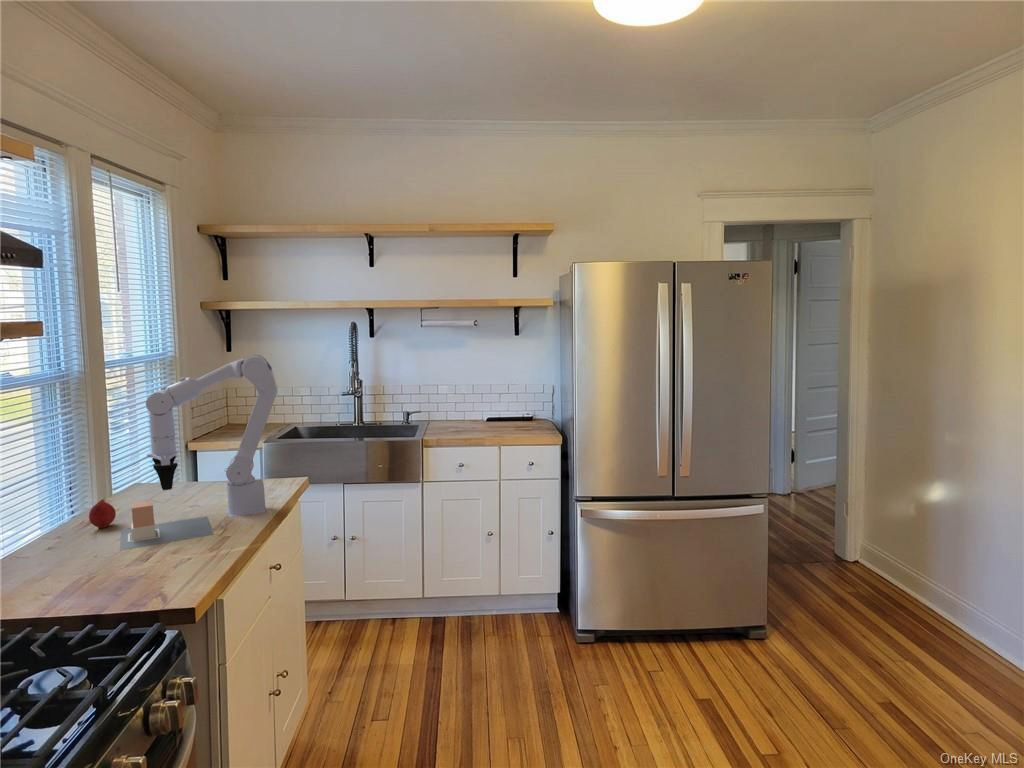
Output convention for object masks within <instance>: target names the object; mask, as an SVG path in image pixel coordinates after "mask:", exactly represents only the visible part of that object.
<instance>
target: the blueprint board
mask: <svg viewBox="0 0 1024 768" xmlns="http://www.w3.org/2000/svg"><path fill="white" fill-rule="evenodd" d="M130 526H131V527H130V528H123V529H121V530H120V542H119V545H120V546H119V551H124V550H130V549H131V550H132V549H137V548H142V547H148V546H149V547H150V546H153V545H160V544H166V543H173V542H179V541H184V540H189V539H194V538H195V539H196V538H202V537H207V536H212V535H214V531H213V529H212V526H211V524H210V521H209V517H208V516H201V517H200V516H199V517H195V518H187V519H182V520H180V519H179V520H174V521H169V522H161V523H156V524H155V521H154V525H151V526H145V527H138V528H133V522H131V525H130Z"/></svg>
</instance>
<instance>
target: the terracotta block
mask: <svg viewBox="0 0 1024 768" xmlns="http://www.w3.org/2000/svg"><path fill="white" fill-rule="evenodd" d="M153 503H154V502H153V500H147V501H139V502H134V503H133V502H132V503H131V515H132V517H131V519H132V523H133V528H138V527H145V526H151V525H154V522H155V519H154V518H155V514H154V504H153Z"/></svg>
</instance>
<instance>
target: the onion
mask: <svg viewBox="0 0 1024 768" xmlns="http://www.w3.org/2000/svg"><path fill="white" fill-rule="evenodd" d="M115 519H116V510H115V508H114V506H112V504H111V503H108V502H106V501H105V498H100V499H99V500H98V502H97V503H95V504H94V505H93V506H92V507H91V508H90V511H89V513H88V520H89V522H90V524H91V525H93V526H95V527H96V528H99V529H103V528H107V527H109V525H111V524H112V523H113V522H114V520H115Z"/></svg>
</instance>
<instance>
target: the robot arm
mask: <svg viewBox="0 0 1024 768" xmlns="http://www.w3.org/2000/svg"><path fill="white" fill-rule="evenodd" d="M243 377H244V378H245V379H247V380H248V381H249V382H250V383H251V384H252V385H253V387H254V388H255V390H256V391H257V393H258V394H257V397H256V400H255V403H254V406H253V408H252V411H251V413H250V416H249V419H248V422H247V425H246V427H245V430H244V432H243V436H242V438H241V440H240V443H239V446H238V449H237V452H236V454H235V455H234V456H233V458H231V459H230V462H229V465H228V466H227V468H226V471H225V477H226V478H227V480H226V490H227V493H226V494H227V504H228V508H225V511H226V515H227V516H228V518H233V517H234V518H235V517H240V516H247V515H253V514H259V513H266V512H267V511H266V497H265V496H266V495H265V493H266V492H265V485H264V480H263V479H262V478H260V479H259V478H258V479H256V477H255V476H254V475H253V474H252V472H253V469H254V467H255V465H254V463H255V462H254V457H255V454H256V452H257V449H258V446H259V443H260V440H261V438H262V436H263V432H264V430H265V427H266V425H267V424H266V423H267V421H268V418H269V415H270V413H271V410H272V407H273V405H274V402H275V400H276V397H277V393H278V386H277V383H276V379H275V375H274V373H273V367H272V365H271V364H270V363H269V361H268V360H267V359H266V358H265V357H264V356H262V355H260V354H253V355H252V354H251V355H250V356H248V357H247V358H246V357H243V358H240V359H237V360H234V361H231V362H229V363H227V364H224V365H223V366H220V367H219V368H216V369H215V370H213V371H211V372H208V373H206V374H204V375H202V376H200V377H199V378H194V377H191V376H188V377H185V376H182V377H181V378H179V380H178V381H177V382H175V383H173V384H171V385H168V386H167V385H164V386H162V387H161V390H157V391H155V392H153V393H152V394H150V395H149V396H148V397H147V399H146V401H145V406H146V409H147V411H148V414H149V415H148V416H149V419H148V420H149V421H148V422H149V435H150V445H151V448H150V449H151V452H149V453H146V457H147V458H151V459H152V461H153V464H152V467H153V469H154V470H155V472H156V475H157V476H158V479H159V483H160V487H161V490H162V491H169V490H170V491H171V490H172V488H173V485H174V476H175V472H176V470H177V467H178V462H175V460H176V457H177V455H178V450H177V443H176V442H177V441H176V430H175V429H176V428H175V419H174V411H173V408H174V407H180V406H181V405H184V404H185V403H186V404H187V403H188V402H191V401H192V400H194V399H195V400H196V399H197V398H199V397H201V395H202V392H203V389H206V388H208V387H211V386H213V385H216V384H217V383H220V382H223V381H224V380H227V379H229V378H234V379H237V378H238V379H242V378H243Z"/></svg>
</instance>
